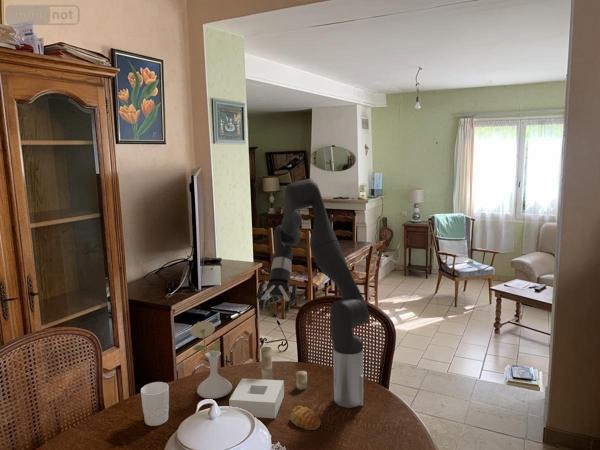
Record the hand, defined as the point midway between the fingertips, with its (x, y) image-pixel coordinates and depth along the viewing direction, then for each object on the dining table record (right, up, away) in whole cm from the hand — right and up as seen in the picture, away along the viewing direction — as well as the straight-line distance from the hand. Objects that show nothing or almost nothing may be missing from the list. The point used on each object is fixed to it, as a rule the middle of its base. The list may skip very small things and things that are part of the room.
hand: (273, 311), depth 162 cm
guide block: (-4, -26, -19) cm, 32 cm away
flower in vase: (-20, -25, -12) cm, 34 cm away
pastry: (+11, -27, -29) cm, 41 cm away
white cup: (-33, -27, -27) cm, 51 cm away
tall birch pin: (-2, -24, -7) cm, 25 cm away
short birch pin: (+10, -24, -9) cm, 27 cm away
